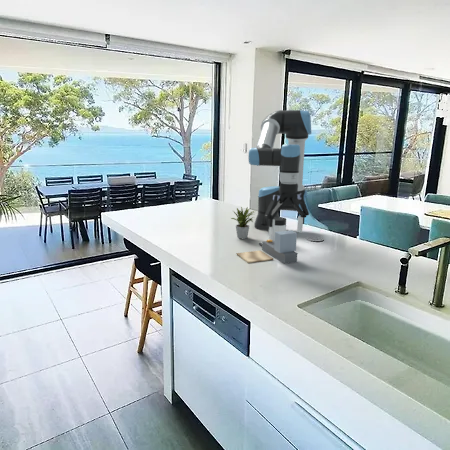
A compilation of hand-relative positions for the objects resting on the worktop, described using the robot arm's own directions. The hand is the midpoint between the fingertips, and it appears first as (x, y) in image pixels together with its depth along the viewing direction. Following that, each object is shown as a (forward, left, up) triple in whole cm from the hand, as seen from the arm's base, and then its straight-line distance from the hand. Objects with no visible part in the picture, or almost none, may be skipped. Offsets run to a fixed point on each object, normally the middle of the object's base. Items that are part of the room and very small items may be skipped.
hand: (285, 233), depth 159 cm
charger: (0, 0, -10) cm, 10 cm away
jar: (-10, -24, -12) cm, 29 cm away
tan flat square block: (+11, -7, -12) cm, 18 cm away
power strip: (0, -9, -12) cm, 15 cm away
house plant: (+3, -36, -12) cm, 38 cm away
